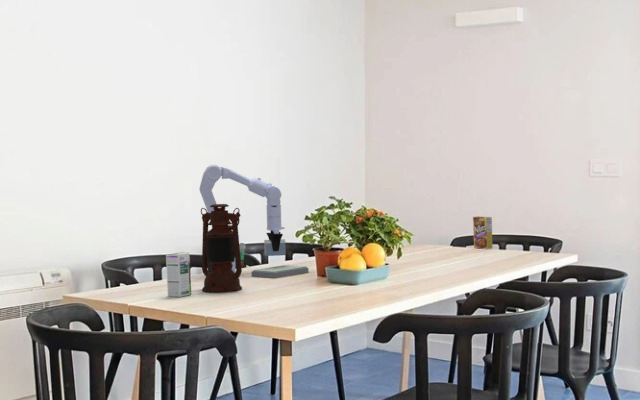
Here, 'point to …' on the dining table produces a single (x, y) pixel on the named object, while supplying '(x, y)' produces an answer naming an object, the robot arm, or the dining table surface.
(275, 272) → the stand
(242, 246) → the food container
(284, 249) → the housing
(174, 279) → the syrup box
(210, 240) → the lantern
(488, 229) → the candy box
